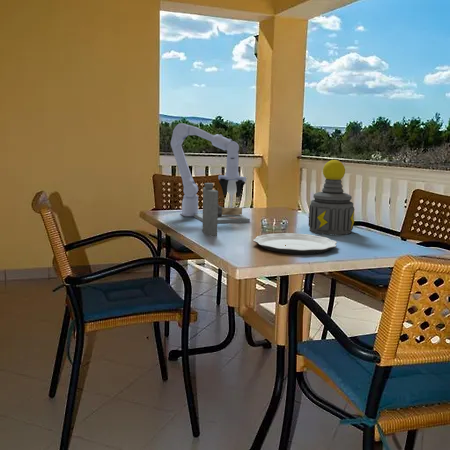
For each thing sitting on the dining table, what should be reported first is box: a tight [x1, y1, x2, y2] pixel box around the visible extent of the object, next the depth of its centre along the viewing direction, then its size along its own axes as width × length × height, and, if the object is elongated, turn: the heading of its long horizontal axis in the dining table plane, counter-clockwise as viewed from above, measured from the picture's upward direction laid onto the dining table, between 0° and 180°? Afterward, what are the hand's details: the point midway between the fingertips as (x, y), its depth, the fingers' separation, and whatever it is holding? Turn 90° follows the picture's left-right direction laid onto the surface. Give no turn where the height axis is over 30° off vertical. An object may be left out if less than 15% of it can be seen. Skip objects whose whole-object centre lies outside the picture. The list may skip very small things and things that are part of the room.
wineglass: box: [224, 171, 240, 208], centre depth 260 cm, size 9×9×21 cm
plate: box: [252, 232, 338, 255], centre depth 186 cm, size 29×29×2 cm
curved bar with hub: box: [218, 204, 243, 216], centre depth 243 cm, size 19×5×5 cm, turn 109°
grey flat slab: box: [193, 212, 251, 224], centre depth 243 cm, size 20×22×2 cm
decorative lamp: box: [307, 159, 355, 236], centre depth 216 cm, size 19×19×30 cm
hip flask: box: [201, 182, 219, 237], centre depth 207 cm, size 16×4×20 cm, turn 14°
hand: (231, 195), depth 249 cm, fingers open, 7 cm apart
